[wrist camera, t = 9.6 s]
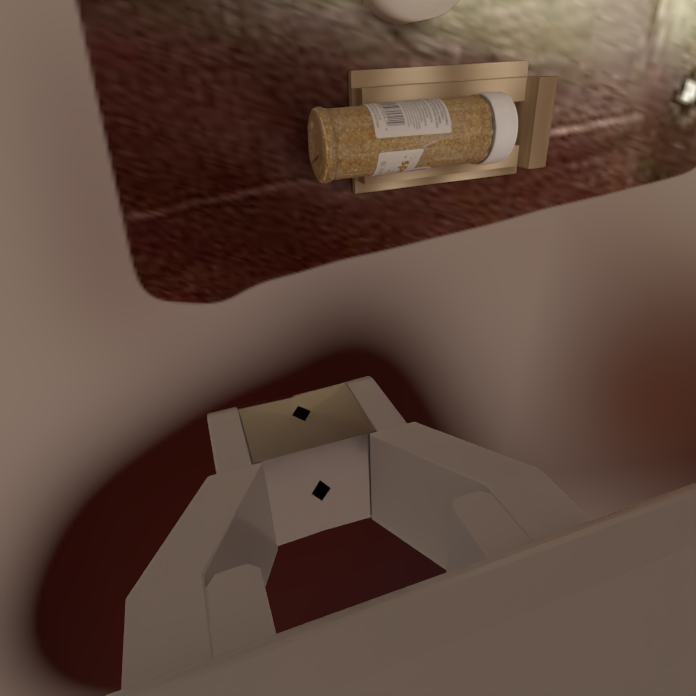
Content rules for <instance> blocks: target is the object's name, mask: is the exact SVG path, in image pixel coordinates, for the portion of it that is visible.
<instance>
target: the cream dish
mask: <svg viewBox="0 0 696 696" xmlns="http://www.w3.org/2000/svg"><path fill="white" fill-rule="evenodd" d="M362 1H363V3H364V4H365V6H366V7H367V8H368V9H369V10H370V11H371V12H372V13H373V14H374V15H375V16H377V17H378V18H380V19H381V20H383V21H385V22H388V23H392V24H408V23H413V22H417V21H422V20H426V19H431V18H435V17H437V16H440V15H442V14H444V13H445V12H447V11H449V10H450V9H451V8H452V7H453V6H454V5H455V4H456V3H457V2H458V1H459V0H362Z"/></svg>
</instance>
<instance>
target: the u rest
mask: <svg viewBox="0 0 696 696" xmlns="http://www.w3.org/2000/svg"><path fill="white" fill-rule="evenodd" d="M528 65H529V61H514V62H496V63H479V64H461V65H444V66H426V67H408V68H391V69H373V70H356V71H348V87H349V106H360V105H362V104H370V103H382V102H393V101H404V100H417V99H430V98H438V99H443V98H456V97H469V96H471V95H475V94H477V93H482V92H504V93H506V94H507V95H509V96H510V98H511V99H512V100H513V102H514V104H515V107H516V110H517V114H518V133H517V138H516V142H515V145H514V147H513V149H512V151H511V153H510V154H509V156H508V157H507V158H506V159H504V160H503V161H501V162H498V163H492V164H485V165H475V164H471V163H465V164H457V165H450V166H442V167H434V168H431V169H424V170H416V171H407V172H399V173H392V174H385V175H378V176H362V177H355V178H352V184H353V193H355V194H357V193H365V192H373V191H381V190H389V189H397V188H405V187H412V186H420V185H428V184H436V183H444V182H452V181H460V180H468V179H476V178H483V177H491V176H499V175H507V174H515V173H516V170H517V166H519V167H523V168H527V169H532V168H540V167H545V165H546V158H547V151H548V144H549V137H550V130H551V123H552V115H553V108H554V101H555V94H556V87H557V80H558V76H527V74H528Z"/></svg>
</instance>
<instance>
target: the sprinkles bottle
mask: <svg viewBox="0 0 696 696" xmlns="http://www.w3.org/2000/svg"><path fill="white" fill-rule="evenodd" d="M517 133H518V114H517V110H516V107H515V104H514V102H513V100H512V99H511V98H510V96H509V95H507V94H506V93H504V92H482V93H477V94H475V95H471V96H469V97H456V98H443V99H438V98H430V99H417V100H404V101H393V102H382V103H370V104H362V105H360V106H349V107H341V108H322V107H315V108H313V109H312V111H311V113H310V115H309V119H308V145H309V157H310V162H311V166H312V169H313V171H314V174H315V176H316V178H317V179H318V180H319V181H320V182H321V183H329V182H331V181H332V180H339V179H346V178H355V177H362V176H378V175H385V174H392V173H399V172H407V171H416V170H424V169H431V168H434V167H442V166H450V165H457V164H465V163H471V164H475V165H485V164H492V163H498V162H501V161H503V160H504V159H506V158H507V157H508V156H509V154H510V153H511V151H512V149H513V147H514V145H515V142H516V138H517Z"/></svg>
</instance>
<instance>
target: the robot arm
mask: <svg viewBox="0 0 696 696" xmlns="http://www.w3.org/2000/svg"><path fill="white" fill-rule="evenodd" d="M207 420H208V426H209V432H210V437H211V444H212V449H213V455H214V461H215V466H216V473H217V474H216V475H212V476H209V477H207V479H206V480H205V482H204V483H203V485H202V486H201V488H200V489H199V491H198V492H197V494H196V496H195V497H194V498H193V500H192V501H191V503H190V504H189V506H188V507H187V509H186V510H185V512H184V513H183V515H182V516H181V518H180V519H179V521H178V522H177V524H176V525H175V527H174V528H173V530H172V531H171V533H170V534H169V536H168V537H167V539H166V540H165V542H164V543H163V545H162V546H161V548H160V549H159V551H158V552H157V553H156V555H155V556H154V558H153V560H152V561H151V563H150V564H149V565H148V567H147V568H146V570H145V571H144V573H143V574H142V576H141V577H140V579H139V580H138V582H137V583H136V585H135V586H134V588H133V589H132V591H131V592H130V594H129V595H128V597H127V598H126V608H125V629H124V648H123V667H122V688H121V690H120V691H118V692H114V693H112V694H109V695H106V696H696V483H695V484H692V485H689V486H687V487H684V488H681V489H678V490H675V491H672V492H669V493H667V494H664V495H661V496H658V497H655V498H653V499H650V500H647V501H644V502H642V503H639V504H636V505H633V506H631V507H628V508H625V509H622V510H620V511H617V512H614V513H611V514H608V515H606V516H603V517H600V518H597V519H595V520H592V521H591V520H590V519H589V518H588V517H587V516H586V515H585V514H584V513H583V512H582V511H581V510H580V509H579V508H578V507H577V506H576V505H575V504H574V503H573V502H572V501H571V500H570V499H569V498H568V497H567V496H566V495H565V494H564V493H563V492H562V491H561V490H560V489H559V488H558V487H557V486H556V485H555V484H554V483H553V482H552V481H551V480H550V479H549V477H548V476H547V475H545V473H543V472H542V470H540V469H538V468H535V467H533V466H530V465H528V464H525V463H522V462H520V461H517V460H514V459H511V458H509V457H506V456H504V455H501V454H498V453H496V452H493V451H490V450H488V449H485V448H482V447H480V446H477V445H474V444H472V443H469V442H467V441H464V440H461V439H459V438H456V437H453V436H451V435H448V434H445V433H442V432H440V431H437V430H434V429H432V428H429V427H427V426H424V425H421V424H419V423H416V422H412V423H408V424H407V423H406V422H405V420H404V419H403V418H402V416H401V415H400V414H399V412H398V411H397V410H396V409H395V407H394V406H393V405H392V403H391V402H390V401H389V399H388V398H387V397H386V395H385V394H384V393H383V391H382V390H381V389H380V388H379V386H378V385H377V383H376V382H375V381H374V380H373V378H371V377H369V376H367V377H363V378H359V379H355V380H352V381H348V382H344V383H342V384H338V385H334V386H330V387H326V388H322V389H318V390H315V391H310V392H306V393H303V394H298V395H294V396H292V395H291V396H287V397H282V398H277V399H273V400H268V401H263V402H258V403H253V404H249V405H244V406H239V407H237V408H236V407H235V408H230V409H226V410H222V411H217V412H213V413H209V414H208V416H207ZM369 517H372V519H373V520H374V521H376V522H377V523H379V524H380V525H382V526H383V527H384V528H386V529H387V530H389V531H391V532H392V533H393V534H395V535H396V536H398V537H399V538H401V539H402V540H403V541H405V542H407V543H408V544H409V545H411V546H412V547H414V548H415V549H417V550H418V551H419V552H421V553H423V554H424V555H425V556H427V557H428V558H430V559H431V560H433V561H434V562H435V563H437V564H438V565H440V566H441V567H443V568H444V569H446V570H447V572H446V573H445V574H442V575H439V576H436V577H433V578H431V579H428V580H425V581H422V582H420V583H417V584H414V585H411V586H408V587H406V588H403V589H400V590H397V591H395V592H392V593H389V594H386V595H383V596H381V597H378V598H375V599H372V600H370V601H367V602H364V603H361V604H359V605H356V606H353V607H350V608H347V609H345V610H342V611H339V612H336V613H334V614H331V615H328V616H325V617H322V618H320V619H317V620H314V621H311V622H309V623H306V624H303V625H301V626H297V627H295V628H292V629H289V630H286V631H284V632H281V633H278V634H276V632H275V628H274V624H273V619H272V615H271V611H270V607H269V603H268V599H267V594H266V590H265V586H266V583H267V580H268V577H269V574H270V570H271V568H272V564H273V562H274V559H275V556H276V553H277V549H278V548H277V546H279V545H282V544H285V543H288V542H291V541H294V540H297V539H300V538H303V537H305V536H308V535H311V534H314V533H317V532H320V531H323V530H326V529H330V528H333V527H337V526H341V525H344V524H348V523H351V522H355V521H358V520H361V519H365V518H369Z"/></svg>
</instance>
